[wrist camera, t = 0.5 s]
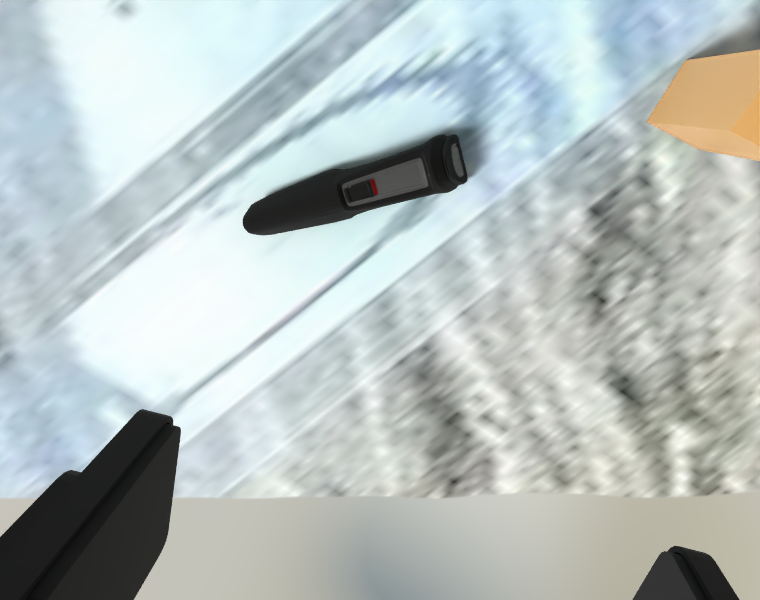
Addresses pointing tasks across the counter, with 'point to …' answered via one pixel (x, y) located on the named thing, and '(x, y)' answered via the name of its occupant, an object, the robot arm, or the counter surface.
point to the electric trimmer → (361, 188)
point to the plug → (715, 104)
